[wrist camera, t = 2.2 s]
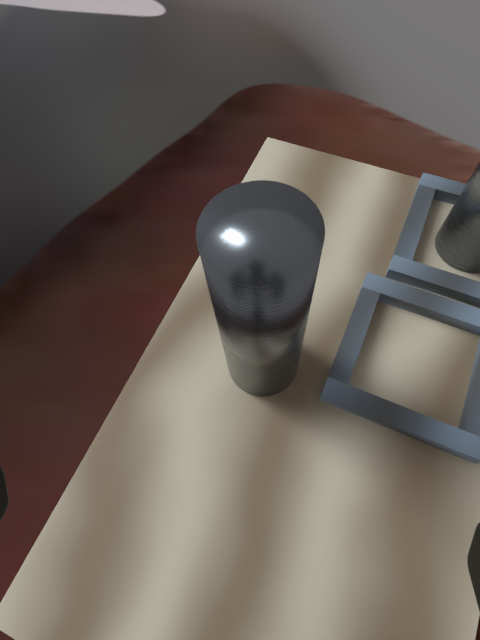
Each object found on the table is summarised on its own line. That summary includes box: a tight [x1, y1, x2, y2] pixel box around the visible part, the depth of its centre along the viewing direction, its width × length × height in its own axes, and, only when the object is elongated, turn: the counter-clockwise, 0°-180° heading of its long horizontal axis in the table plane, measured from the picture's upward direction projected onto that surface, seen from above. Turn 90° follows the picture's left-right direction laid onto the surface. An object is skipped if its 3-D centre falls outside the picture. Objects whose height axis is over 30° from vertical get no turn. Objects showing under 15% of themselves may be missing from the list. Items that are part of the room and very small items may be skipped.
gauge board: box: [0, 137, 480, 640], centre depth 21 cm, size 18×30×2 cm, turn 156°
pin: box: [196, 180, 325, 397], centre depth 17 cm, size 4×4×11 cm
